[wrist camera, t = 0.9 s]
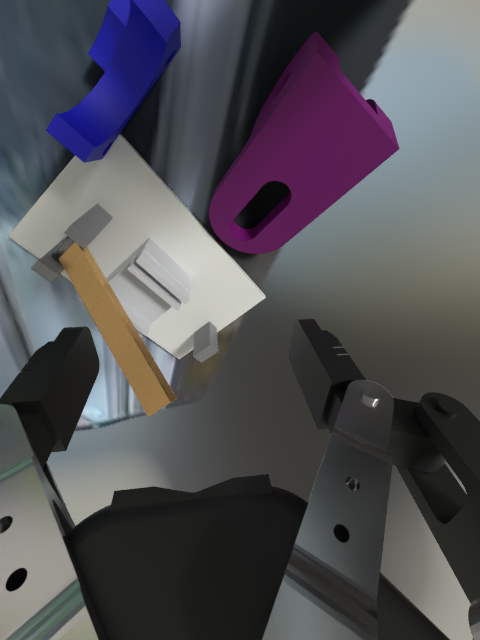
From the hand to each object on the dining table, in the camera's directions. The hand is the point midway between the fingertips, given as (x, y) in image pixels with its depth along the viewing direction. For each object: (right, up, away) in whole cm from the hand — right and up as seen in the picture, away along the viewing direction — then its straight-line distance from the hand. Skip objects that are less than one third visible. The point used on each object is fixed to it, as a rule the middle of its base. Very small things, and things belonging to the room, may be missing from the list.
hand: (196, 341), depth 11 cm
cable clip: (-9, +22, +14) cm, 27 cm away
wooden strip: (-10, +1, +16) cm, 18 cm away
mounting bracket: (+6, +17, +20) cm, 27 cm away
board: (-9, +7, +24) cm, 27 cm away
